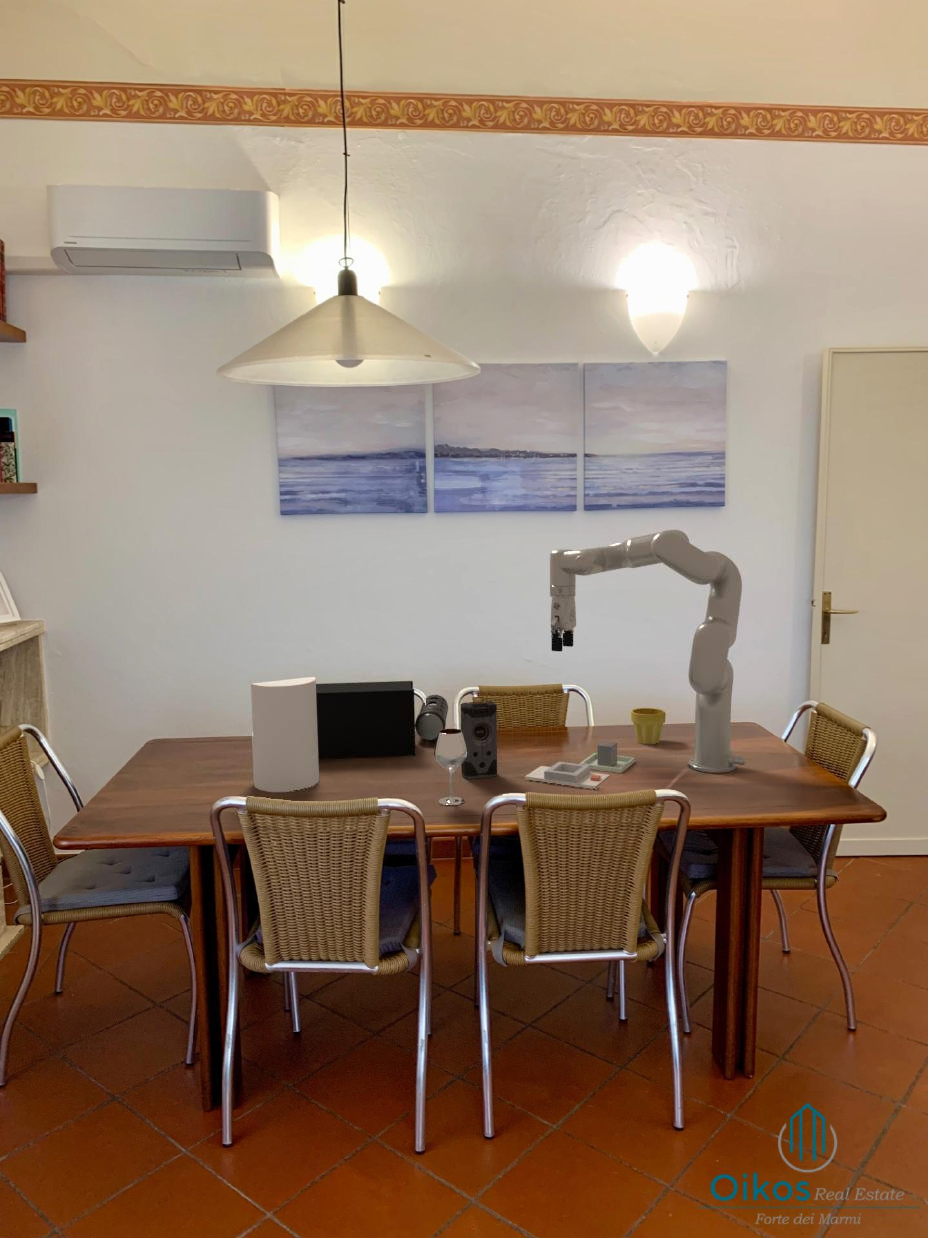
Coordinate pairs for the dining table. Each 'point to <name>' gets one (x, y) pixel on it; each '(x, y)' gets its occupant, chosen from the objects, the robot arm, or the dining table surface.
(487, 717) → the electronic device
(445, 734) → the wineglass
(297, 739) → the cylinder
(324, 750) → the uninterruptible power supply
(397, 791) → the dining table surface
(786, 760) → the dining table surface
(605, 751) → the plug
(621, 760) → the tray
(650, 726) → the plant pot
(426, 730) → the muzzle brake
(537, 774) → the plate with square socket
